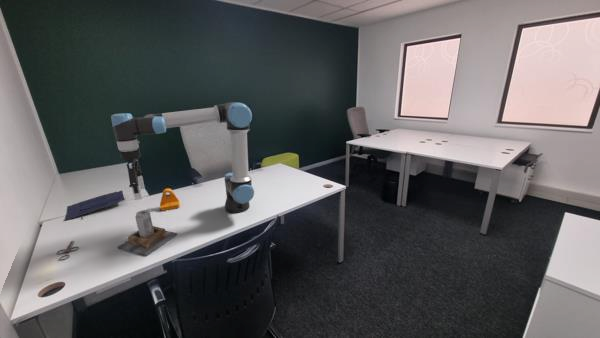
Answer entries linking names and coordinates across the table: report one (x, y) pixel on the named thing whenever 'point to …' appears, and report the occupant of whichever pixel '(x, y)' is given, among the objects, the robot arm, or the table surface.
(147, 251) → the can holder
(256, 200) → the table surface
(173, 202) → the bracket
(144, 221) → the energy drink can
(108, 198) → the navy blue flat panel
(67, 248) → the grey scissors
